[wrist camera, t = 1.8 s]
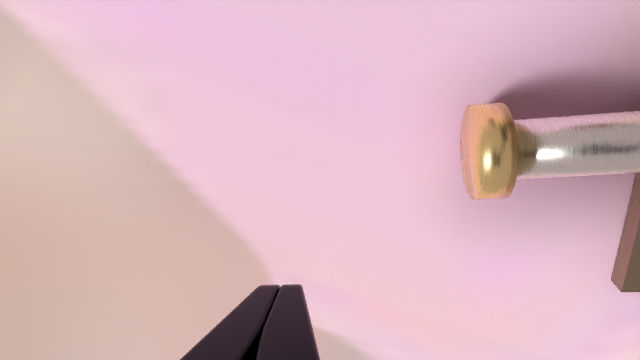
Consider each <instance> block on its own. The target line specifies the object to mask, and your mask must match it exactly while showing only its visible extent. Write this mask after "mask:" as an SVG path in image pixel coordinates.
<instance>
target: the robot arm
mask: <svg viewBox="0 0 640 360" xmlns="http://www.w3.org/2000/svg"><path fill="white" fill-rule="evenodd" d="M180 360H320V357H319V353H318V349H317V345H316V341H315V337H314V332H313V328H312V324H311V320H310V316H309V312H308V308H307V304H306V300H305V295H304V291H303V288H302V286H301V285H299V284H291V285H282V286H281V287H280V286H279V285H261V286H259V287H257V288H256V289H255V290H254V291H253V292H252V293H251V294H250V295H249V296H248V297H247V298H245V299H244V300H243V301H242V302H241V303H240V304H239V305H238V306H237V307H236V308H235V309H234V310H233V311H232V312H231V313H229V315H227V316H226V317H225V318H224V319H223V320H222V321H221V322H220V323H219V324H218V325H217V326H216V327H214V329H212V330H211V331H210V332H209V333H208V334H207V335H206V336H205V337H204V338H203V339H202V340H201V341H200V342H199V343H197V344H196V345H195V346H194V347H193V348H192V349H191V350H190V351H189V352H188V353H187V354H186V355H185V356H183V357H182V358H181V359H180Z"/></svg>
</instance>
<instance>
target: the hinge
mask: <svg viewBox="0 0 640 360" xmlns="http://www.w3.org/2000/svg"><path fill="white" fill-rule="evenodd" d="M611 281H612V282H613V283H614V284H615V285H616V286H617V288H618V289H619V290H620V291H621V292H640V173H636V177H635V181H634V186H633V190H632V194H631V198H630V202H629V207H628V211H627V215H626V219H625V223H624V228H623V232H622V236H621V240H620V244H619V249H618V253H617V257H616V261H615V265H614V270H613V274H612V278H611Z"/></svg>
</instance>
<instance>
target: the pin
mask: <svg viewBox="0 0 640 360" xmlns="http://www.w3.org/2000/svg"><path fill="white" fill-rule="evenodd" d="M460 147H461V164H462V172H463V178H464V182H465V186H466V189H467V192H468V194H469V196H470V197H471V198H472V199H495V198H507V197H508V196H509V195H510V194H511V192H512V190H513V188H514V185H515V181H516V179H534V178H553V177H572V176H591V175H610V174H628V173H640V111H630V112H616V113H602V114H588V115H574V116H561V117H547V118H533V119H519V120H513V117H512V114H511V112H510V110H509V108H508V107H507V106H506V105H505V104H504V103H489V104H476V105H468V106H467V107H466V109H465V111H464V114H463V119H462V125H461V141H460Z"/></svg>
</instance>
